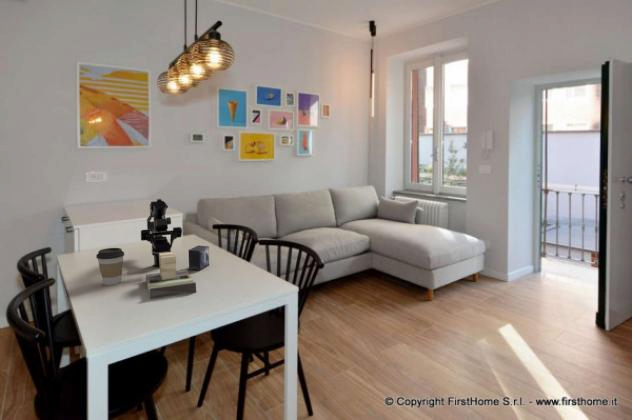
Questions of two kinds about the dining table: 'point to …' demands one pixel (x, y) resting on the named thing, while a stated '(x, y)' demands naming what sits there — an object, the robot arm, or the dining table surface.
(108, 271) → the coffee cup
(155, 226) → the robot arm
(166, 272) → the birch block
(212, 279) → the dining table surface
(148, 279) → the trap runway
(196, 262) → the small box
